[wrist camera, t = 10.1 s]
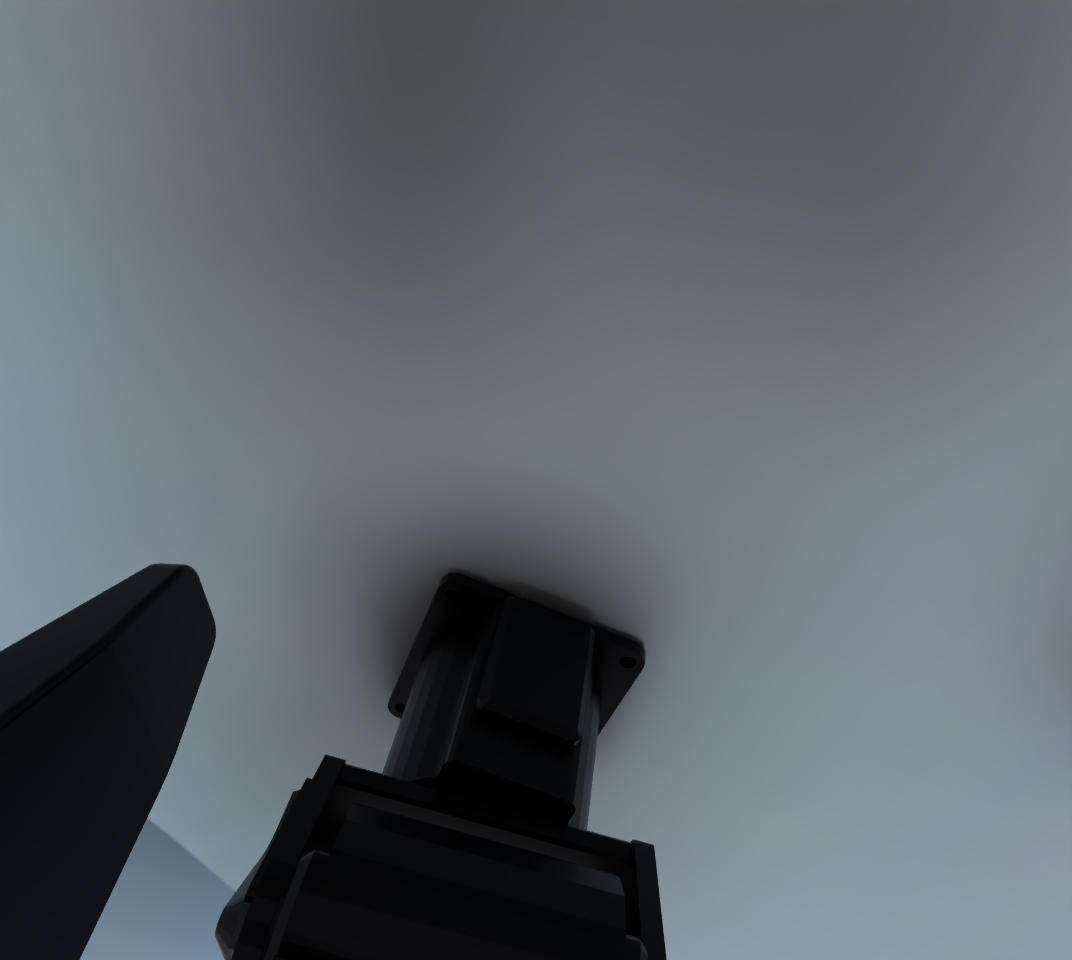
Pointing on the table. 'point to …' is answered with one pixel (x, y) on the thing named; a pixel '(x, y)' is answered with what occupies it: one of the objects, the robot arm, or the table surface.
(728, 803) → the table surface
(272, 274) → the table surface
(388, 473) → the table surface
